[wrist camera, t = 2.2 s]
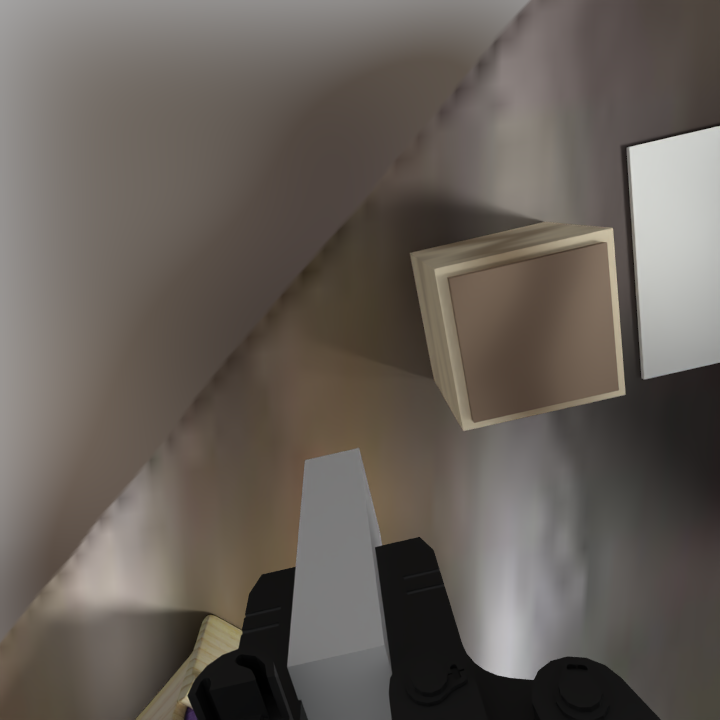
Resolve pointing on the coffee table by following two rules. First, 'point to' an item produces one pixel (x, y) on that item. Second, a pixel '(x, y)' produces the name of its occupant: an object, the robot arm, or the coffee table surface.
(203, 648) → the toy sofa
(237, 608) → the coffee table surface
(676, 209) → the grey mat
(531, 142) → the coffee table surface
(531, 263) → the maple cube
